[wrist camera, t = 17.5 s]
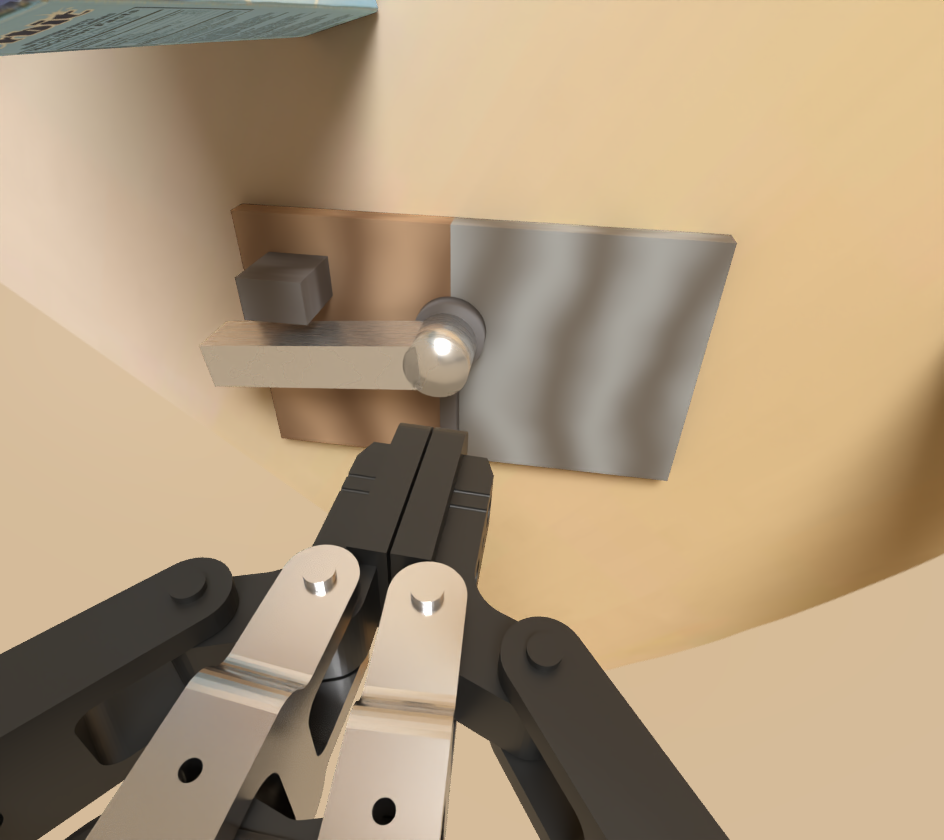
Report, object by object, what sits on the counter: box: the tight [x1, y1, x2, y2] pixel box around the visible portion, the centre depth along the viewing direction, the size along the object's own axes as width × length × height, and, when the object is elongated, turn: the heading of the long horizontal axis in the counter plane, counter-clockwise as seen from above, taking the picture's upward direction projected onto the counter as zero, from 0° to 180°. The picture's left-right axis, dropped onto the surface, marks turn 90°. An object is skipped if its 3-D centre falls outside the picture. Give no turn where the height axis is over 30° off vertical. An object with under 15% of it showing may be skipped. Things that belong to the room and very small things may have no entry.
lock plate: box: [231, 204, 737, 481], centre depth 38 cm, size 30×18×6 cm, turn 89°
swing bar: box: [199, 313, 477, 397], centre depth 36 cm, size 17×4×4 cm, turn 94°
